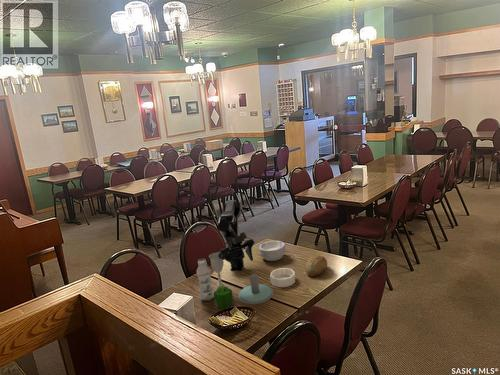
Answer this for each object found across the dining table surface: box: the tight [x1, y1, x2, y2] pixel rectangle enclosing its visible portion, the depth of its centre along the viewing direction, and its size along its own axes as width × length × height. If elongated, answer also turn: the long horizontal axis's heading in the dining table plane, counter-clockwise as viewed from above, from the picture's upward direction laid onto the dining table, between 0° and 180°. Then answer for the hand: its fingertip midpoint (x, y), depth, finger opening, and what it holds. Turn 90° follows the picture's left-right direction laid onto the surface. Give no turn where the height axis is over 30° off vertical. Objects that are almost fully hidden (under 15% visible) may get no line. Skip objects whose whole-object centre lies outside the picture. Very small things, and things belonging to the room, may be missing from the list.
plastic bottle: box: [196, 258, 215, 302], centre depth 167 cm, size 6×7×20 cm
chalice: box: [208, 251, 226, 290], centre depth 176 cm, size 7×7×18 cm
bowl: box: [269, 267, 296, 288], centre depth 176 cm, size 12×12×4 cm
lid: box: [239, 274, 272, 303], centre depth 167 cm, size 15×15×9 cm
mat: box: [237, 287, 275, 305], centre depth 168 cm, size 17×17×1 cm
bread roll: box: [305, 255, 328, 277], centre depth 183 cm, size 10×15×8 cm, turn 143°
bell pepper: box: [213, 283, 234, 309], centre depth 160 cm, size 8×8×10 cm
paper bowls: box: [258, 240, 287, 262], centre depth 205 cm, size 15×15×8 cm
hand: (244, 263), depth 171 cm, fingers open, 9 cm apart
